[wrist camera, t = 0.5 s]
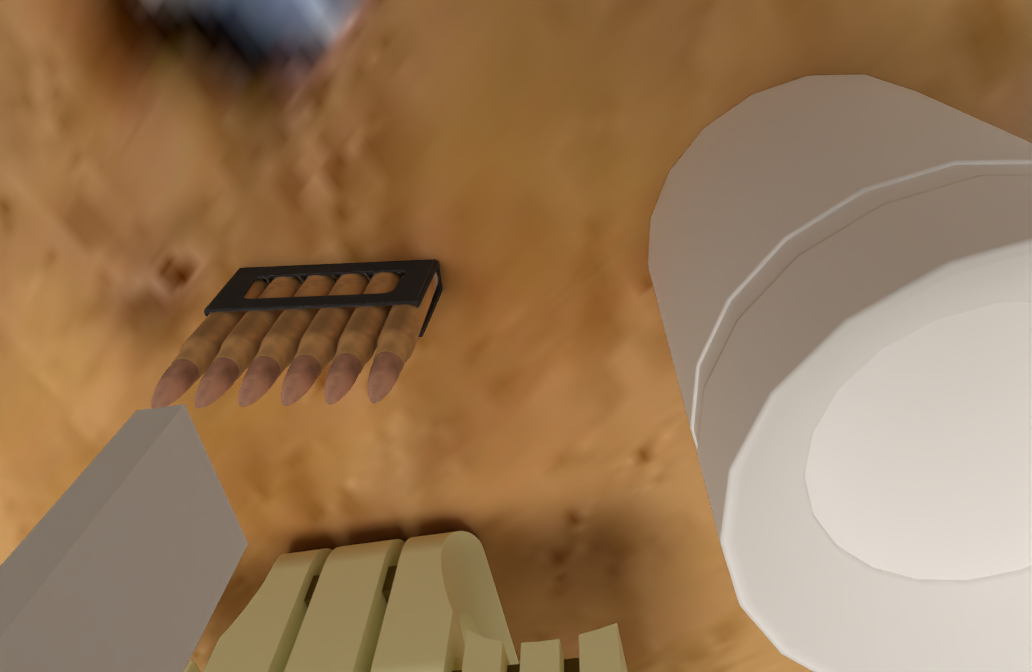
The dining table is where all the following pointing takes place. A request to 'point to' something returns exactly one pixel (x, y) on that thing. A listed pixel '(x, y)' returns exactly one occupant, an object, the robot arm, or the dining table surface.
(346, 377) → the ammunition clip
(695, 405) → the canister
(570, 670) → the slatted curved stool
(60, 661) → the robot arm
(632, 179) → the dining table surface
